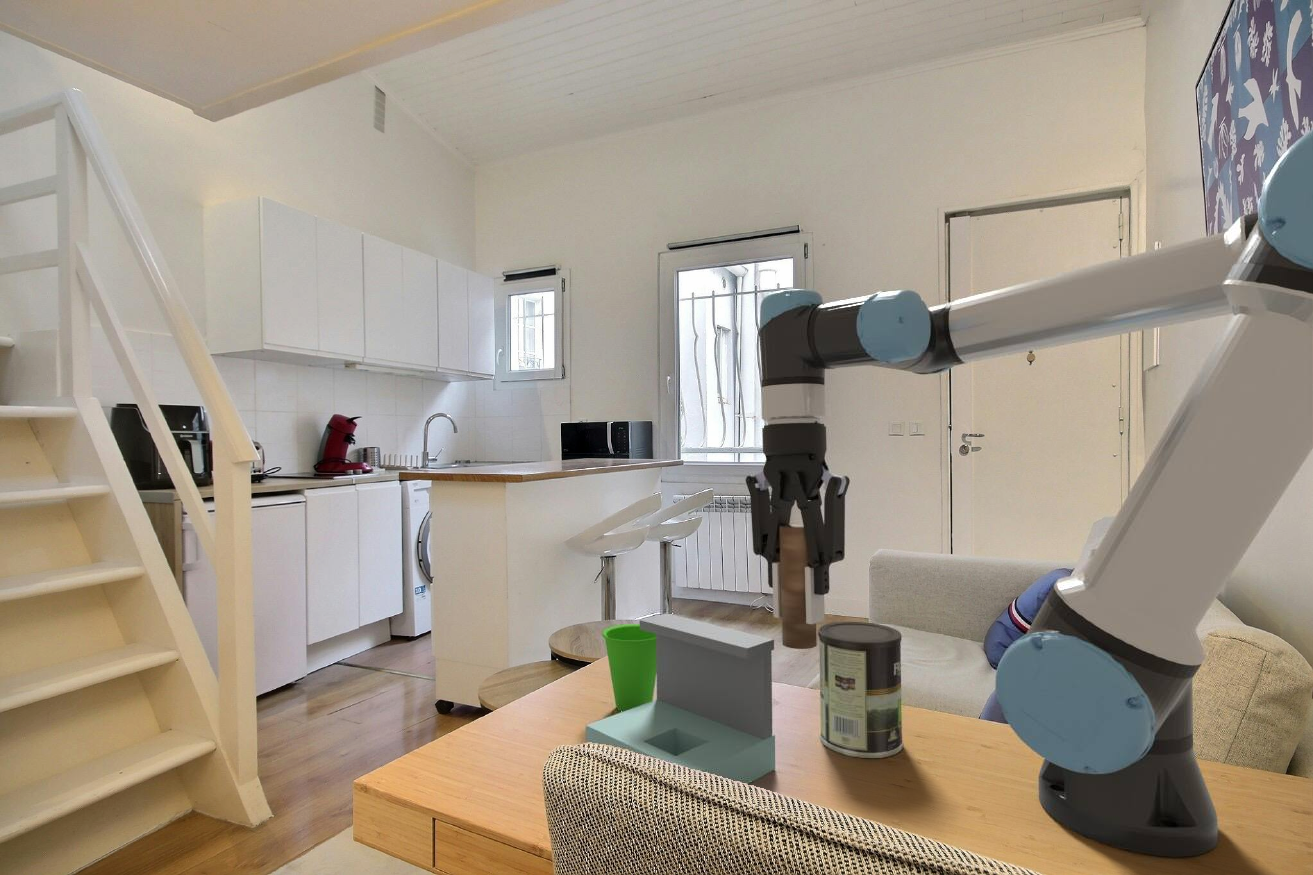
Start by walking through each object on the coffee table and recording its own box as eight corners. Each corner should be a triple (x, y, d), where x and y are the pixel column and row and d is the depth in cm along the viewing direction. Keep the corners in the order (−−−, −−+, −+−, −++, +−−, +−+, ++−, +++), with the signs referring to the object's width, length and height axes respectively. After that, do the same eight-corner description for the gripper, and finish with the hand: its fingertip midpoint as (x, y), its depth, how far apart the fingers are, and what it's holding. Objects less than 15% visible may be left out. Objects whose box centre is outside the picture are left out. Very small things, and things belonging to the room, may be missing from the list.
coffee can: (896, 727, 93) (895, 622, 93) (908, 762, 83) (907, 644, 83) (818, 722, 95) (816, 619, 95) (820, 755, 85) (819, 640, 85)
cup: (665, 719, 97) (664, 640, 97) (599, 720, 97) (599, 640, 97) (665, 696, 106) (664, 623, 106) (605, 696, 106) (604, 623, 106)
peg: (823, 643, 83) (820, 525, 83) (804, 651, 80) (800, 529, 80) (795, 637, 86) (792, 523, 86) (775, 644, 83) (772, 526, 83)
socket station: (775, 769, 82) (773, 639, 82) (693, 813, 72) (692, 666, 72) (667, 725, 95) (666, 613, 95) (586, 758, 85) (585, 633, 85)
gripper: (874, 419, 80) (880, 624, 79) (756, 425, 92) (761, 603, 92) (839, 418, 75) (845, 637, 74) (719, 425, 87) (723, 613, 86)
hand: (798, 618), depth 83 cm, fingers closed on peg, 4 cm apart
